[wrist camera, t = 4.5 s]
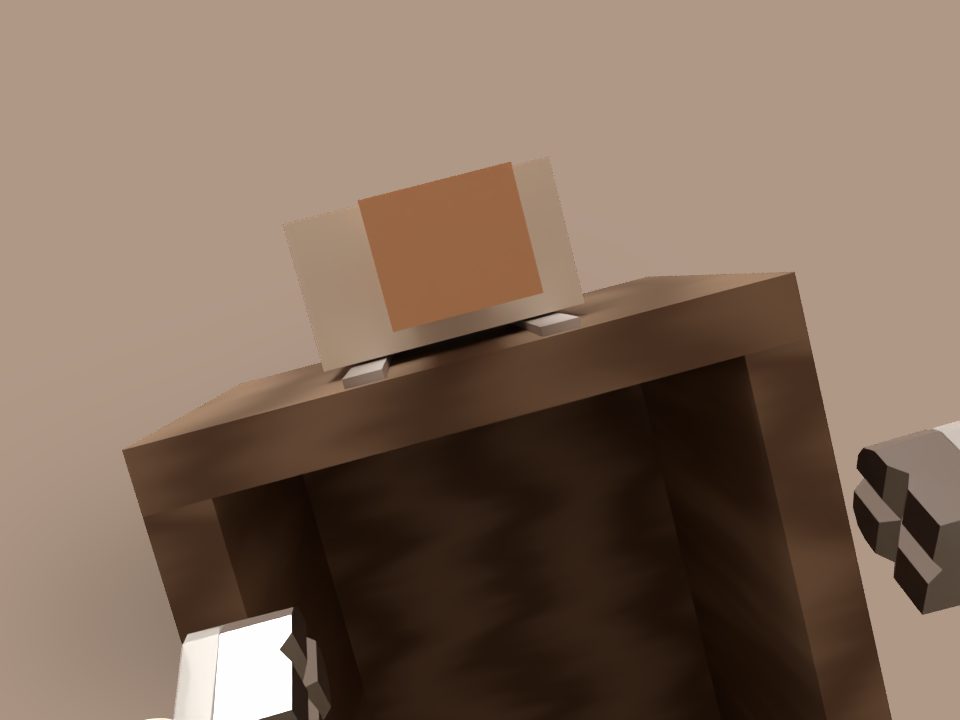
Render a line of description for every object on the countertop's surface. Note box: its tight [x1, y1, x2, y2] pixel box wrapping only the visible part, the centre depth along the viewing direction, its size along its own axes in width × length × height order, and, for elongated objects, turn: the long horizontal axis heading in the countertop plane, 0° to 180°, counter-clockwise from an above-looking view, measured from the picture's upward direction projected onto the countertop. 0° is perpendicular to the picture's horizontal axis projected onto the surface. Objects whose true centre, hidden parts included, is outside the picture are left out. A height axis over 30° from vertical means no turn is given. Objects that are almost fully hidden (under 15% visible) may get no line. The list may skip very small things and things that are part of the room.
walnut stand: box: [122, 272, 892, 720], centre depth 34 cm, size 20×16×26 cm
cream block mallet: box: [283, 157, 585, 372], centre depth 26 cm, size 9×21×5 cm, turn 5°
